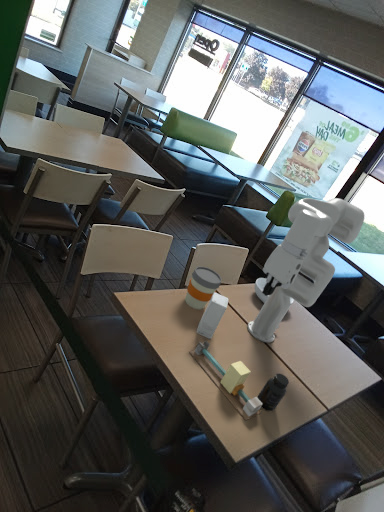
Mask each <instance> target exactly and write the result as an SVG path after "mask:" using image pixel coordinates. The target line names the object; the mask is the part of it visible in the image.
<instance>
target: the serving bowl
mask: <svg viewBox="0 0 384 512" xmlns="http://www.w3.org/2000/svg"><path fill="white" fill-rule="evenodd" d="M266 280H267V277H265V278H264V277H259V278H257V279H256V281H255V283H254V291H255V294H256V296H257V297H258V299H259V300H261V302H263V303H265V302H266V300H267V298H268V297H269V295H268V296H265V295H264V294H263V293H262V292H263V290H264V289H263V288H264V287H265V285H266V283H267V282H266ZM294 302H295V300H294V299H293V298H291V297H290V306H291V305H292V304H293V303H294Z"/></svg>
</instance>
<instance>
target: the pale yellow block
mask: <svg viewBox="0 0 384 512" xmlns="http://www.w3.org/2000/svg"><path fill="white" fill-rule="evenodd" d="M250 374H251V370H250V369H249V368H248V367H247V366H246V365H245V363H244V362H243V361H241V360H239V361H235V362H233V363H231V364H229V367H228V369H227V370H226V373H225V375H224V377H223V378H222V380H221V382H220V383H221V384H222V385H223V386H224V387H225V388H226V390H227V391H228V392H229V393H232V392H233V390H234V388H235V387H236V386H237V385H240V384H243V385H244V383H245V382H246V381H247V378H248V377H249V376H250Z"/></svg>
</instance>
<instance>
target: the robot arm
mask: <svg viewBox="0 0 384 512" xmlns="http://www.w3.org/2000/svg"><path fill="white" fill-rule="evenodd" d="M287 215H288V217H287V219H288V220H289V221H290V222H291V223H292V224H291V226H290V228H289V230H288V231H287V233H286V235H285V237H284V239H283V240H282V242H281V243H280V244H278V245H277V246H276V248H275V249H274V250H273V251H272V252H271V254H270V255H269V257H268V258H267V259H266V262H265V264H264V267H263V268H262V271H263V273H264V274H265V276H266V277H265V278H266V279H267V280H266V282H267V283H266V285H265V287H264V288H263V289H264V290H263V292H262V293H263V294H264V295H265V296H268V295H269V297H268V298H267V300H266V302H265V303H264V302H263V303H264V304H263V305H262V307H261V309H260V310H259V312H258V314H257V316H256V317H255V318H254V320H251V321H249V322H248V324H247V330H248V332H249V333H250V335H252V336H253V337H254V338H255V339H256V340H257V341H261V342H263V343H268V344H269V343H272V342H273V341H274V340H275V338H276V336H275V332H276V330H277V329H280V324H281V322H282V320H283V319H284V317H285V315H286V314H287V312H288V311H289V309H290V307H291V305H290V297H291V298H293V299H294V302H297V303H299V304H300V305H301V306H304V307H306V308H310V307H312V306H313V305H314V304H315V303H316V301H317V299H318V298H319V297H320V295H321V294H322V293H323V291H324V290H325V289H326V287H327V285H328V284H329V283H330V282H331V280H332V278H333V277H334V276H335V272H336V268H335V265H333V263H331V262H330V261H328V260H326V259H325V258H324V256H325V255H326V253H328V251H329V248H330V240H329V236H328V235H330V236H331V237H333V238H335V239H336V240H338V241H340V242H342V243H344V244H351V243H353V242H355V240H356V238H358V236H359V234H360V231H361V229H362V227H363V225H364V223H365V221H364V220H365V212H364V211H363V209H361V208H359V207H357V206H356V205H354V204H352V203H350V202H348V201H346V200H344V199H342V198H337V197H334V198H332V199H329V200H327V201H325V200H320V199H315V198H309V197H305V198H302V199H300V200H297V201H296V202H294V203H293V204H292V205H291V207H290V208H289V210H288V213H287ZM299 273H301V274H303V275H304V276H306V277H307V278H309V279H310V280H312V281H313V282H311V281H310V280H309V279H307V278H305V277H304V276H303V275H301V274H299Z"/></svg>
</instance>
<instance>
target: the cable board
mask: <svg viewBox="0 0 384 512" xmlns="http://www.w3.org/2000/svg"><path fill="white" fill-rule="evenodd" d="M210 345H211V344H210V342H208V341H207V340H204V341H203V342H202V341H200V342H198V344H197V345H196V347H195V349H193V350H190V351H188V352H189V354H190V355H191V357H192V358H193V359H194V360H195V361H196V363H197V364H198V365H199V367H201V368H202V370H203V371H204V372H205V373H206V375H207V376H208V377H209V378H210V379H211V381H212V382H213V383H214V384H215V386H216V387H217V388H218V389H219V390H220V392H223V393H222V394H223V395H224V396H225V397H226V398H227V400H228V401H229V402H230V404H232V406H233V407H234V408H235V410H236V411H237V412H238V413H239V415H241V417H242V418H243V419H244V420H245V421H247V420H249V419H251V418H253V417H255V416H258V415H259V414H261V413H262V411H261V410H260V409H261V408H262V407H261V406H262V402H261V401H260V400H259V399H258V398H257V397H258V396H255V397H252V398H250V397H249V396H248V395H247V393H246V392H245V391H244V390H243V389H244V388H245V385H244V383H243V384H240V385H237V386H236V387H235V388H234V390H233V392H232V393H229V392H228V391H227V390H226V388H225V387H224V386H223V385H222V384H221V383H220V382H221V380H222V378H223V377H224V375H225V373H226V372H227V370H226V369H225V368H224V367H223V366H222V365H221V364H220V363H219V362H218V360H217V359H216V358H215V357H214V356H213V355H212V353H211V352H210V351H209V350H208V349H209V347H210Z"/></svg>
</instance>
